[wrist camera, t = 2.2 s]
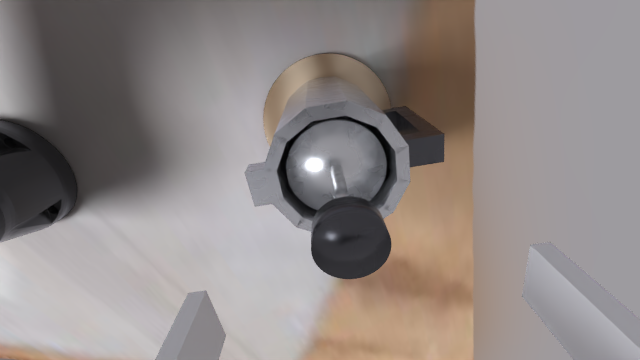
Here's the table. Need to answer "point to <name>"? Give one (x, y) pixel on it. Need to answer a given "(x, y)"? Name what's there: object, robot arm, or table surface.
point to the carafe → (349, 103)
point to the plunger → (341, 195)
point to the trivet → (315, 69)
